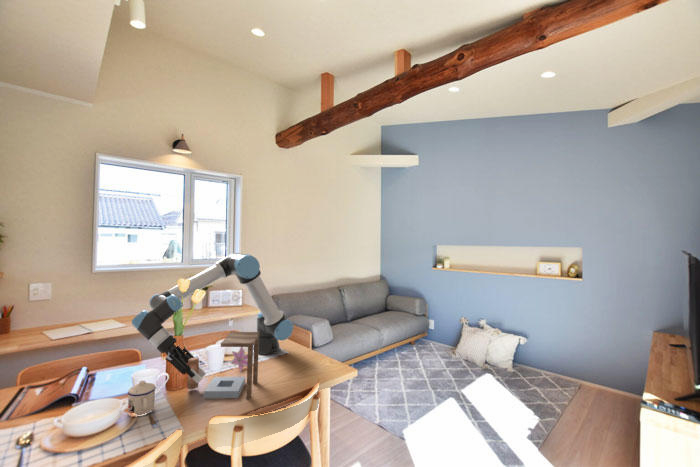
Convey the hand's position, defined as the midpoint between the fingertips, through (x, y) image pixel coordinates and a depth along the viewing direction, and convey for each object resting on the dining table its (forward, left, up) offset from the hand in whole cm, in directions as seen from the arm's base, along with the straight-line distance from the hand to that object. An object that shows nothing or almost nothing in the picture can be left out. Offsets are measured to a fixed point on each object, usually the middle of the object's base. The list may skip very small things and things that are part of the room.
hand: (201, 378), depth 147 cm
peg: (0, -4, -4) cm, 5 cm away
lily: (-24, +11, -6) cm, 27 cm away
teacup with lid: (+18, -16, -6) cm, 25 cm away
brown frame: (0, +16, -5) cm, 17 cm away
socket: (0, +10, -5) cm, 12 cm away
